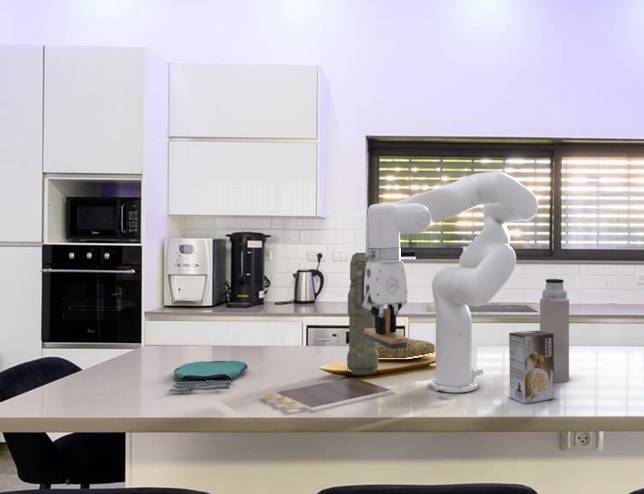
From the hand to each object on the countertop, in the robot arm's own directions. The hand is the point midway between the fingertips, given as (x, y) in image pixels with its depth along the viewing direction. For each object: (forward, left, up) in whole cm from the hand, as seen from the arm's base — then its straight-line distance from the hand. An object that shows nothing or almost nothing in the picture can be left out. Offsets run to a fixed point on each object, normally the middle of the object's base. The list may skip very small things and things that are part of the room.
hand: (385, 332), depth 132 cm
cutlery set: (+24, -49, -17) cm, 57 cm away
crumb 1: (+20, -19, -17) cm, 32 cm away
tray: (+6, -13, -17) cm, 22 cm away
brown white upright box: (-29, +21, -17) cm, 40 cm away
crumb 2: (+20, -14, -17) cm, 29 cm away
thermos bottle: (-50, +13, -17) cm, 55 cm away
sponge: (-34, -34, -17) cm, 51 cm away
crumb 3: (+20, -9, -17) cm, 27 cm away
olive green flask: (-12, -26, -17) cm, 34 cm away
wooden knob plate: (0, 0, -2) cm, 2 cm away
